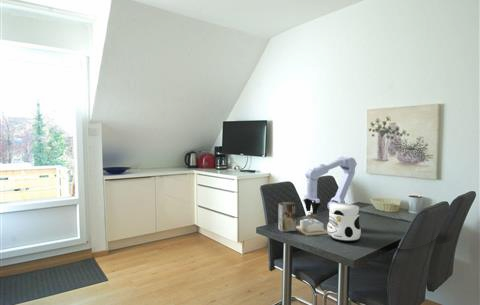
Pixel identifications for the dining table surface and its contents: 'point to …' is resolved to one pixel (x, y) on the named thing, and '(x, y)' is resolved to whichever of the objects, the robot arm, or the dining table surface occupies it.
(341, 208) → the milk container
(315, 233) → the butter dish
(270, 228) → the dining table surface
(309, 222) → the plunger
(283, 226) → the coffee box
